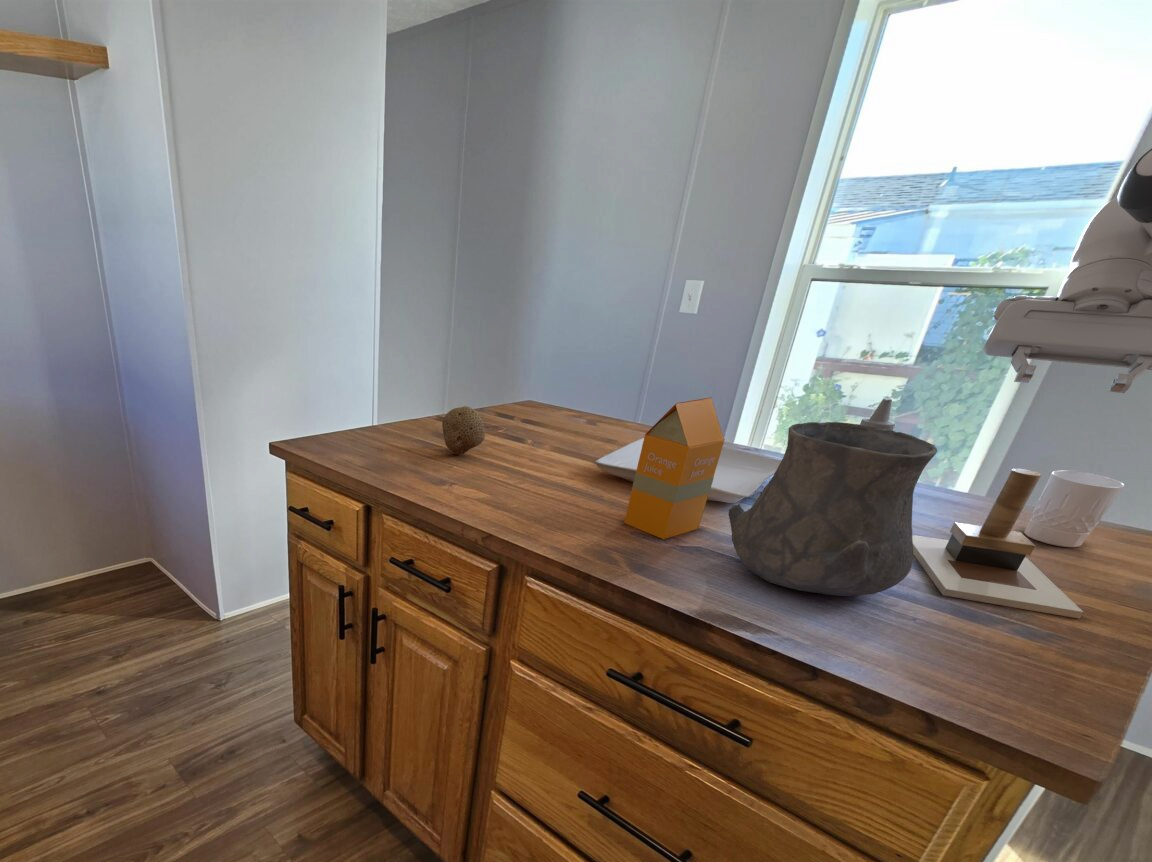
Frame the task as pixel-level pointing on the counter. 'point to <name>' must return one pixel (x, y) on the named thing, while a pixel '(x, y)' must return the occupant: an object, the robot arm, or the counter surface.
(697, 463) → the orange juice
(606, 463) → the square plate
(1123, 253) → the robot arm
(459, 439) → the natural sponge
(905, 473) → the vessel
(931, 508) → the counter surface
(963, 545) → the scrub brush
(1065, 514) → the white cup
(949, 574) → the cream rectangular board
